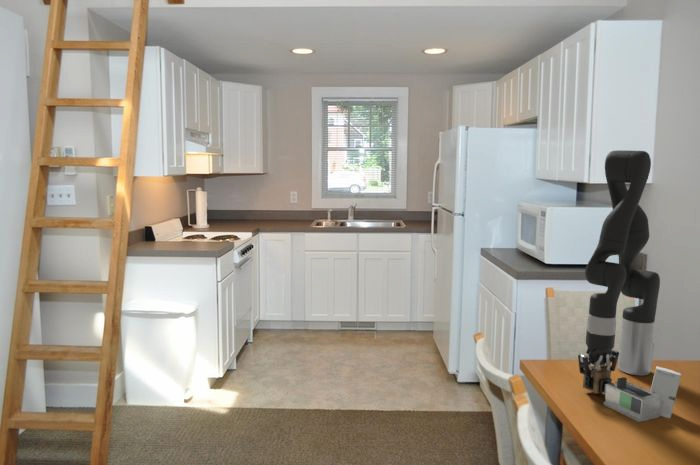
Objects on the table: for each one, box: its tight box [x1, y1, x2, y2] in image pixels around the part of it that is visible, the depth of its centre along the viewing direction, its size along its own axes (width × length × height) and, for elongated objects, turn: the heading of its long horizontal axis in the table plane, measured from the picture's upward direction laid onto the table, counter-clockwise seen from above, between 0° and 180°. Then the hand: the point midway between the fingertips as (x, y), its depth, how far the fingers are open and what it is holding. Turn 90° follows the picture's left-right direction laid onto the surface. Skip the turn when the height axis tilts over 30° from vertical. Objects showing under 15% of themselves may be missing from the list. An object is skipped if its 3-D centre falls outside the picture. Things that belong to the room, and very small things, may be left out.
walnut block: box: [582, 366, 612, 395], centre depth 157 cm, size 5×5×6 cm
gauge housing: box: [603, 381, 661, 423], centre depth 147 cm, size 8×11×6 cm
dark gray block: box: [616, 376, 628, 389], centre depth 146 cm, size 2×1×3 cm, turn 114°
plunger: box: [599, 378, 637, 395], centre depth 150 cm, size 6×10×6 cm, turn 24°
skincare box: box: [649, 365, 682, 419], centre depth 146 cm, size 6×4×12 cm
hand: (596, 386), depth 158 cm, fingers closed on walnut block, 5 cm apart
